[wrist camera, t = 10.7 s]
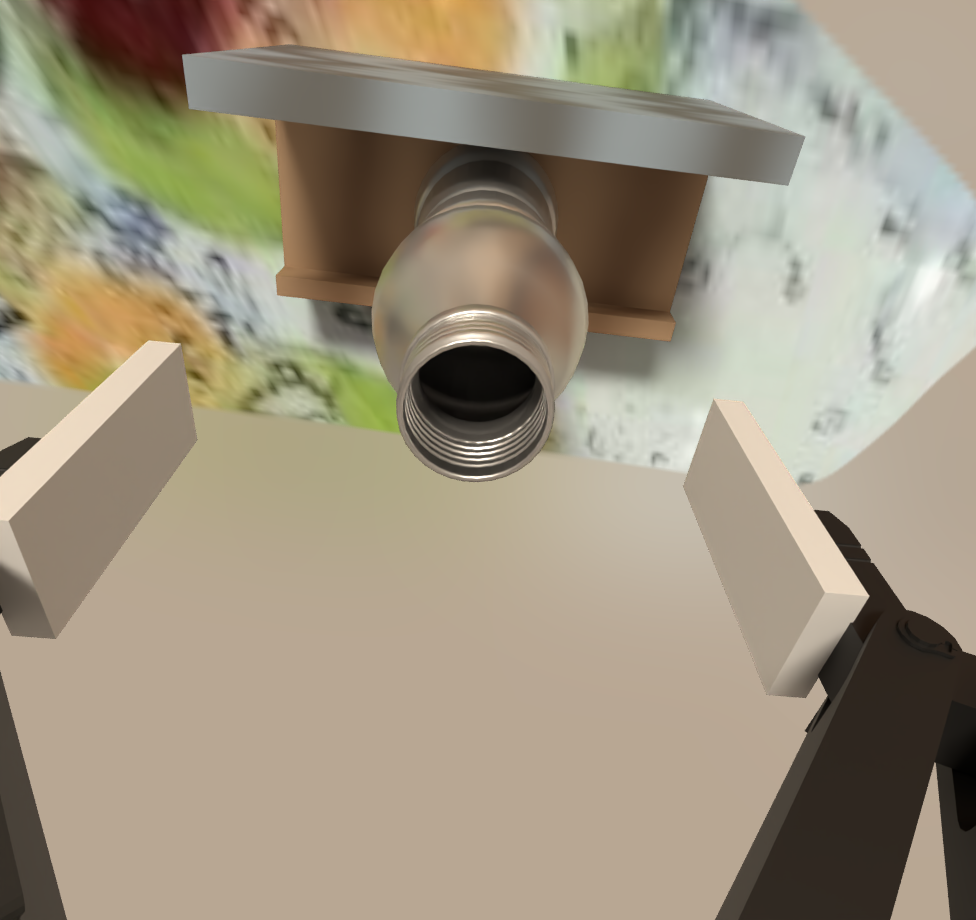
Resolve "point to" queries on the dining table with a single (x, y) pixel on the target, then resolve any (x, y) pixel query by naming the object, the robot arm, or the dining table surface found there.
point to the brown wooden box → (497, 124)
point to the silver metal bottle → (480, 315)
